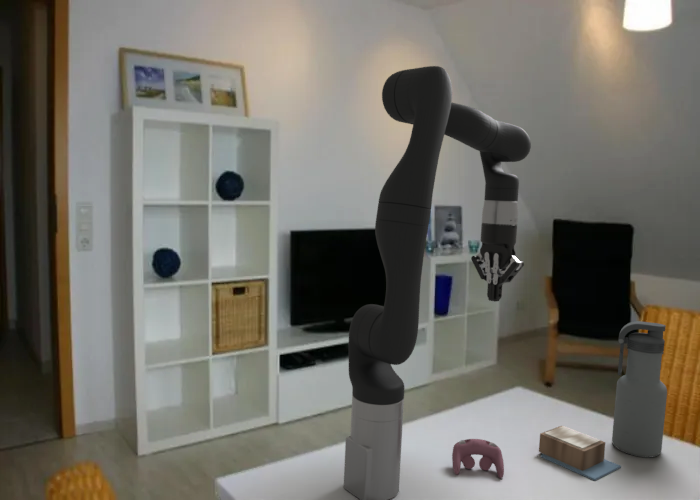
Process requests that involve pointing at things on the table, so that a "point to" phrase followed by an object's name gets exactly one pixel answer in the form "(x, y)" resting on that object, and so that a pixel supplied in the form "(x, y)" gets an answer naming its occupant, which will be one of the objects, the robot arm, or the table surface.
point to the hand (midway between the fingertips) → (494, 300)
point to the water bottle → (640, 392)
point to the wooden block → (572, 447)
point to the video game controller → (477, 447)
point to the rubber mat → (592, 472)
